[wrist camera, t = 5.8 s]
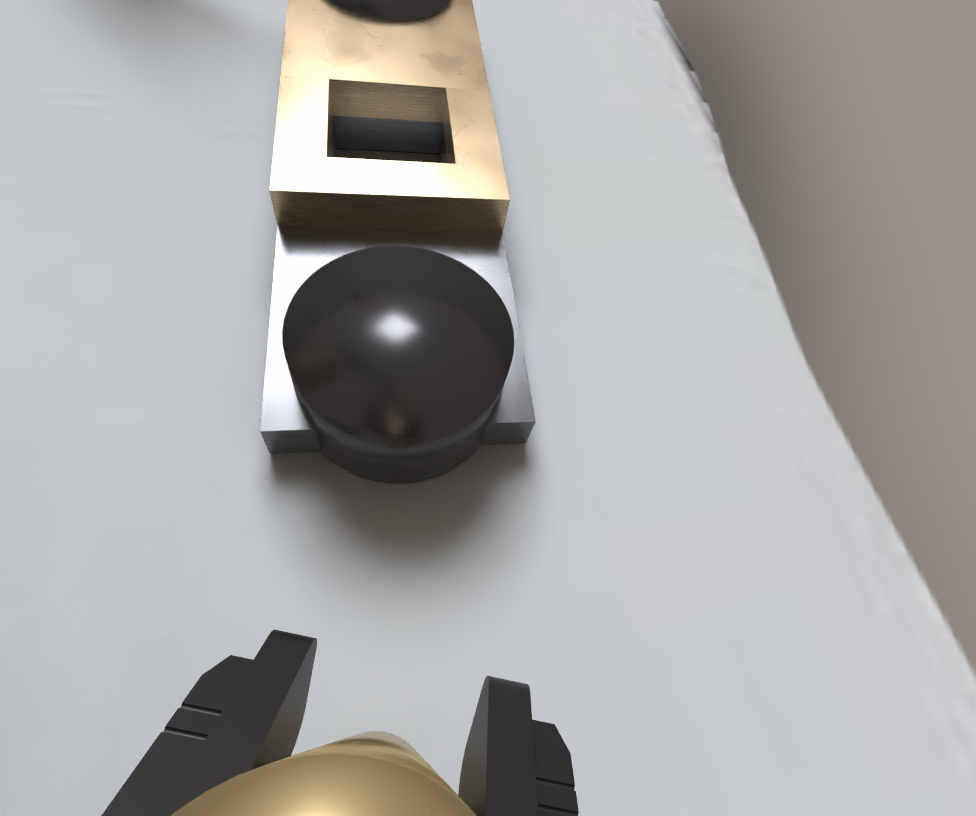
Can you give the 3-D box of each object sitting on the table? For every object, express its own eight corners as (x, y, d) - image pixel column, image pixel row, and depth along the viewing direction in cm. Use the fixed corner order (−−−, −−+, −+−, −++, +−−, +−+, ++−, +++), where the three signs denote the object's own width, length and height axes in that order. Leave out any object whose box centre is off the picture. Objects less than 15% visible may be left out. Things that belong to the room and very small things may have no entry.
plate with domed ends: (530, 476, 18) (558, 426, 15) (267, 490, 17) (239, 438, 14) (457, 20, 30) (464, -57, 27) (303, 5, 29) (293, -78, 26)
